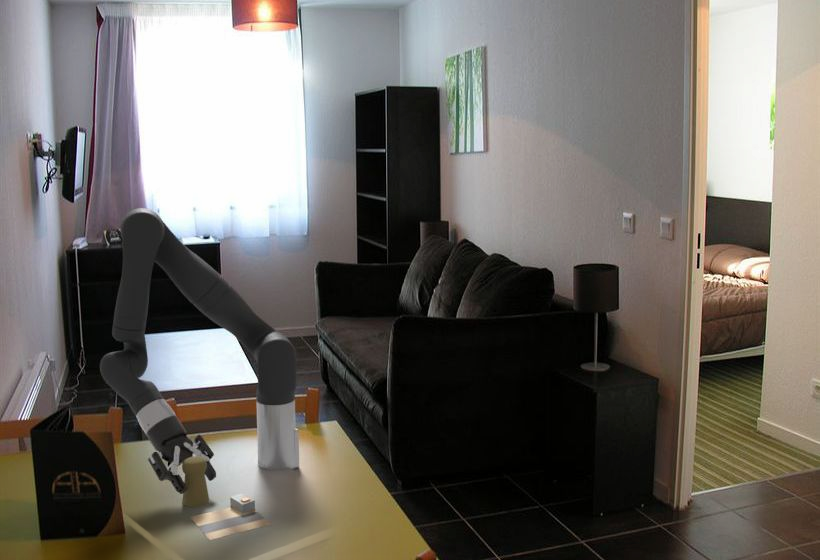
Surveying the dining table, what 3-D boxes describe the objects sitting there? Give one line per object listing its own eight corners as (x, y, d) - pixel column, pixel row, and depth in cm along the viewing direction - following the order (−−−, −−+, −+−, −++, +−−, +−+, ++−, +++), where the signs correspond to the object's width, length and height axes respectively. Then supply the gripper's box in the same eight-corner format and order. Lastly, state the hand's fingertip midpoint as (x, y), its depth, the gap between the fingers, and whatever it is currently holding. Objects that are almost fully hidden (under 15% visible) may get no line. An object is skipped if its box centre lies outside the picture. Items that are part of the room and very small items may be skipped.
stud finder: (242, 501, 182) (242, 491, 182) (254, 509, 178) (254, 499, 178) (230, 505, 180) (230, 495, 180) (242, 513, 176) (242, 503, 176)
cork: (215, 502, 184) (213, 455, 182) (200, 514, 179) (198, 465, 177) (192, 498, 186) (190, 451, 184) (176, 509, 181) (174, 461, 179)
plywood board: (249, 508, 182) (248, 502, 181) (270, 529, 172) (270, 524, 171) (190, 522, 175) (190, 516, 174) (209, 545, 165) (209, 539, 165)
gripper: (142, 424, 177) (182, 487, 173) (193, 406, 189) (231, 465, 185) (127, 443, 181) (165, 505, 177) (177, 424, 193) (214, 482, 189)
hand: (199, 485), depth 181 cm, fingers open, 8 cm apart
